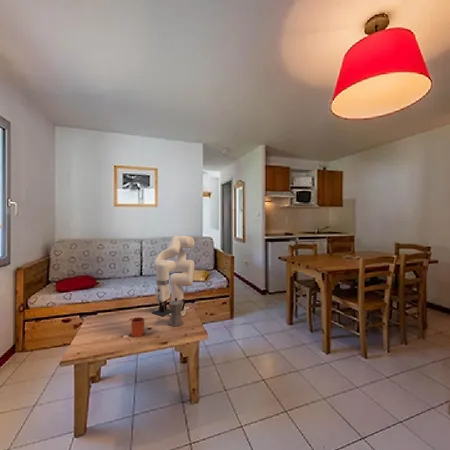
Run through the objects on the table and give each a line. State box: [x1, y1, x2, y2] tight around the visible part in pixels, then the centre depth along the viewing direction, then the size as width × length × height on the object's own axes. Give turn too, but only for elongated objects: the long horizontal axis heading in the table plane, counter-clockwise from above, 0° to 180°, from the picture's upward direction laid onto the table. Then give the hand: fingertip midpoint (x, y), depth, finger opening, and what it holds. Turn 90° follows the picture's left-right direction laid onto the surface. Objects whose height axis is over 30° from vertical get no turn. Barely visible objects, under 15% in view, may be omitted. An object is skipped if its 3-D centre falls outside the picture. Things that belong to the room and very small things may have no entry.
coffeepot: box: [167, 298, 186, 327], centre depth 171 cm, size 15×9×18 cm, turn 144°
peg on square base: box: [151, 303, 174, 318], centre depth 155 cm, size 10×10×6 cm
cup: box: [130, 316, 145, 338], centre depth 154 cm, size 8×8×9 cm
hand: (163, 310), depth 156 cm, fingers closed on peg on square base, 2 cm apart
